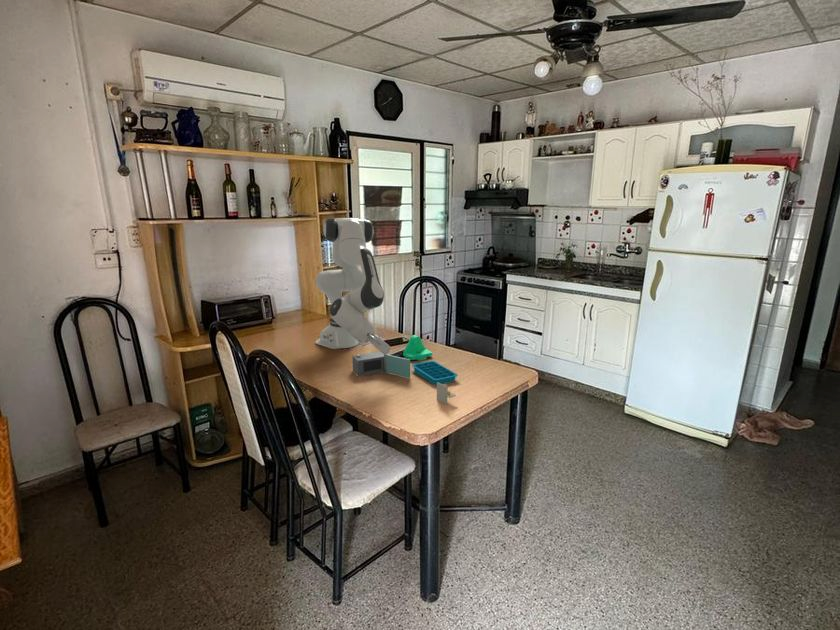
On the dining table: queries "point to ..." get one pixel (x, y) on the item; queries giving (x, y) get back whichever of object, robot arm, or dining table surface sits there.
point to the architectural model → (443, 393)
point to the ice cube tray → (434, 372)
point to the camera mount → (416, 349)
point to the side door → (397, 365)
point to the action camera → (368, 363)
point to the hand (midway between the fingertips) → (387, 351)
